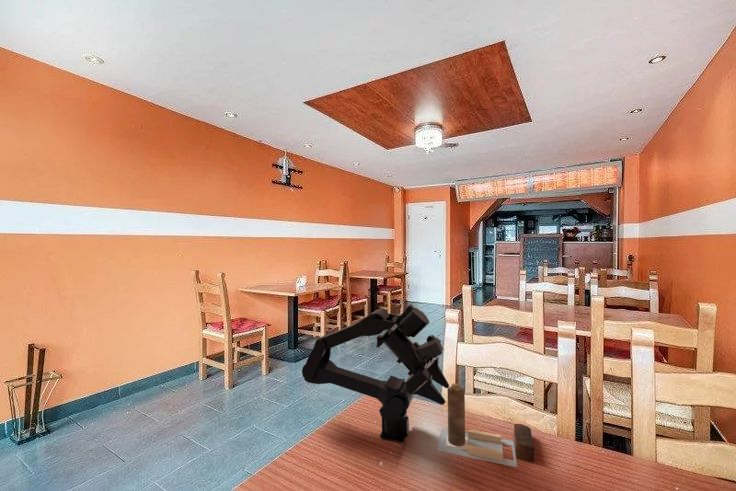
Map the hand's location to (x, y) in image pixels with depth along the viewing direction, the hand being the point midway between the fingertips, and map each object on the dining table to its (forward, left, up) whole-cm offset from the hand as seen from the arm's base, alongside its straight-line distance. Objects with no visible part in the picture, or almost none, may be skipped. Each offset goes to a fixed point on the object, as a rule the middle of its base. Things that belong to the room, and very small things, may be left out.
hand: (446, 394), depth 82 cm
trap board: (+7, 0, -13) cm, 15 cm away
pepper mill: (+2, 0, -11) cm, 12 cm away
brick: (+18, +4, -13) cm, 23 cm away
